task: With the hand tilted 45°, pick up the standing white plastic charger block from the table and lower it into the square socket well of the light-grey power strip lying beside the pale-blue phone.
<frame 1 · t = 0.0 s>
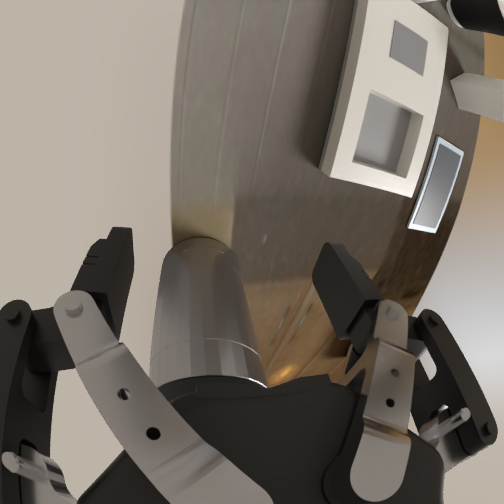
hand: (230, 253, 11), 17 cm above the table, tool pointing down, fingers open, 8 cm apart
dixie cup: (455, 13, 16), on the table
charger: (462, 90, 23), on the table
outlet strip: (386, 85, 23), on the table
phone: (434, 185, 32), on the table
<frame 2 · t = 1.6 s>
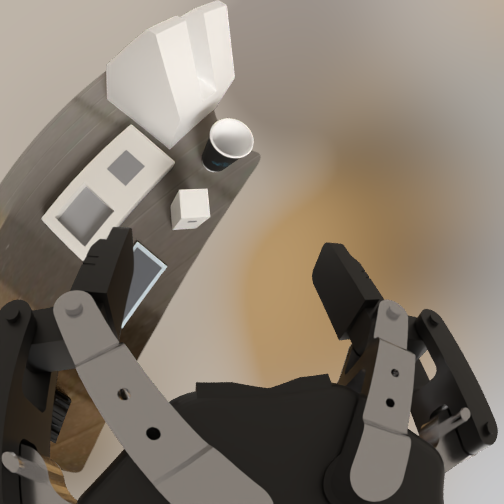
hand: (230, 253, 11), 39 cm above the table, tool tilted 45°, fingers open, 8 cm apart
dixie cup: (213, 161, 53), on the table
charger: (183, 217, 49), on the table
outlet strip: (107, 192, 43), on the table
milk carton: (161, 102, 49), on the table
phone: (128, 284, 44), on the table
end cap: (50, 405, 34), on the table
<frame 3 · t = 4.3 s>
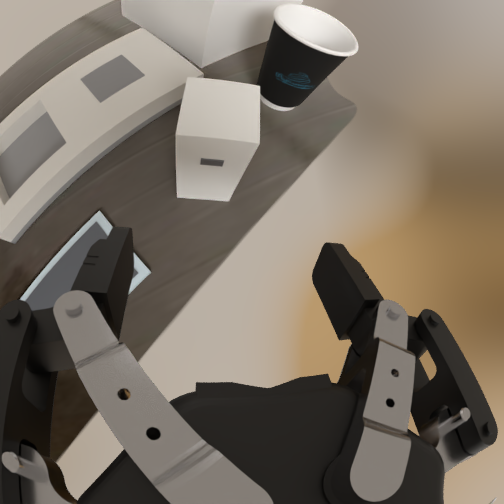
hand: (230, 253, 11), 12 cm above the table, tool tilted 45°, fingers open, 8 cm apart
dixie cup: (277, 96, 27), on the table
charger: (204, 175, 23), on the table
outlet strip: (76, 122, 21), on the table
milk carton: (201, 19, 27), on the table
phone: (72, 297, 19), on the table
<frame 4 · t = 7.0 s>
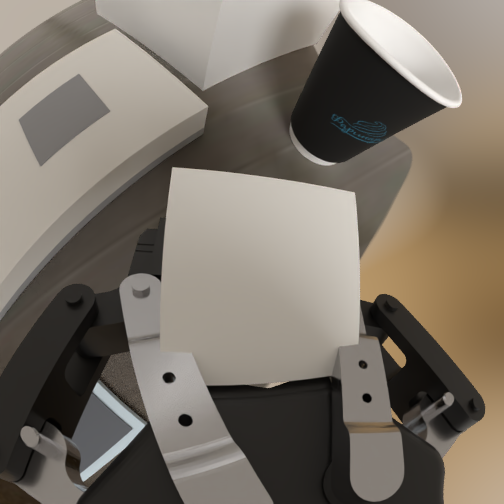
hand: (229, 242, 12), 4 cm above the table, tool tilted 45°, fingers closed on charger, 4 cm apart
dixie cup: (317, 139, 19), on the table
charger: (215, 289, 15), on the table, touching gripper
outlet strip: (21, 187, 13), on the table
milk carton: (202, 16, 19), on the table
phone: (55, 435, 11), on the table
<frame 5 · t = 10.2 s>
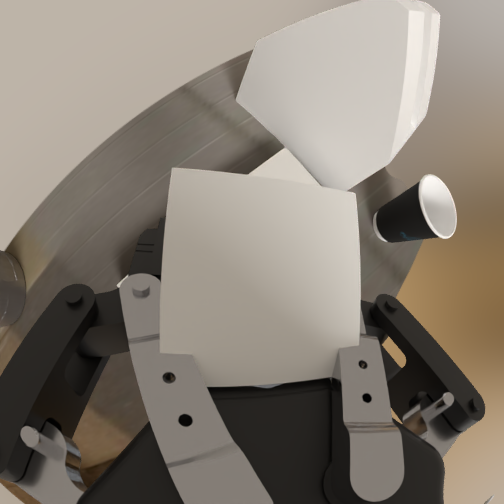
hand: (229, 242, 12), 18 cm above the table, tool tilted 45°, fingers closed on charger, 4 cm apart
dixie cup: (383, 226, 36), on the table
charger: (215, 289, 15), point 14 cm above the table, touching gripper
outlet strip: (240, 254, 30), on the table
milk carton: (315, 123, 36), on the table
when the fingers open (7 cm above the table, at t = 13.2 s): charger drops 2 cm, resting on outlet strip.
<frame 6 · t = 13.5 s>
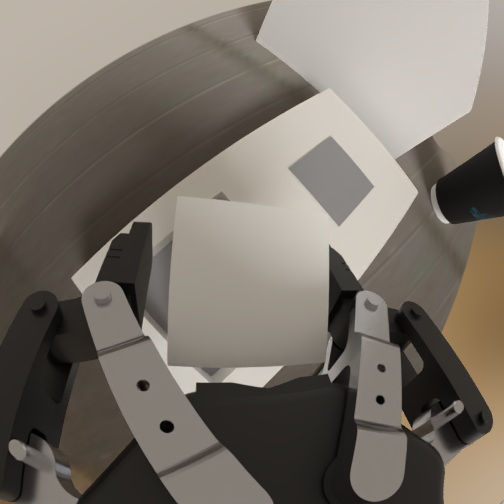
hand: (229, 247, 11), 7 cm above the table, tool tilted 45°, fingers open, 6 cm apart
dixie cup: (440, 204, 26), on the table
charger: (213, 290, 17), point 1 cm above the table, touching outlet strip
outlet strip: (273, 231, 19), on the table
milk carton: (353, 77, 26), on the table
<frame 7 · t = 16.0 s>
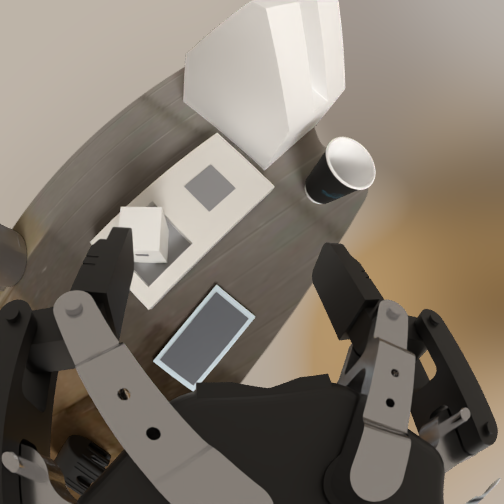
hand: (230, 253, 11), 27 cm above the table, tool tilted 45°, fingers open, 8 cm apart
dixie cup: (317, 190, 43), on the table
charger: (152, 246, 35), point 1 cm above the table, touching outlet strip
outlet strip: (183, 217, 37), on the table
milk carton: (251, 111, 43), on the table
phone: (203, 338, 36), on the table
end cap: (84, 455, 27), on the table
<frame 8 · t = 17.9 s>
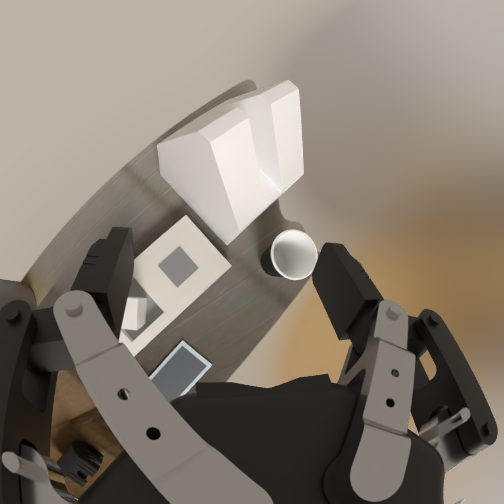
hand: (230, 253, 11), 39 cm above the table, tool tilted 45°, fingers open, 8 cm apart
dixie cup: (272, 262, 53), on the table
charger: (134, 309, 44), point 1 cm above the table, touching outlet strip
outlet strip: (158, 286, 46), on the table
milk carton: (221, 184, 53), on the table
phone: (173, 377, 45), on the table
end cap: (82, 455, 35), on the table
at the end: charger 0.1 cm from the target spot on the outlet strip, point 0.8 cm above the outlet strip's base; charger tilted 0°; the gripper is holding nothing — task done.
